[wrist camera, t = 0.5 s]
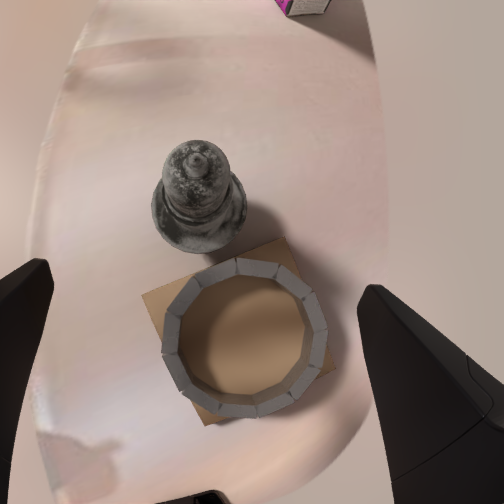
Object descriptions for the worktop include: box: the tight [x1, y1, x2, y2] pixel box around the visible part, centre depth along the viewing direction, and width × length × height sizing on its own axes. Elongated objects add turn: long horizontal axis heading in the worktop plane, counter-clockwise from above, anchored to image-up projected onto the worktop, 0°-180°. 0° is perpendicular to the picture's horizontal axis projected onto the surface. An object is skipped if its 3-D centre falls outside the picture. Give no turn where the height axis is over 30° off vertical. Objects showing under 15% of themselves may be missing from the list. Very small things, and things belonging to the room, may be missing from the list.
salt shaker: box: [151, 140, 247, 254], centre depth 17 cm, size 6×6×12 cm
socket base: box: [141, 236, 336, 426], centre depth 21 cm, size 11×11×3 cm
